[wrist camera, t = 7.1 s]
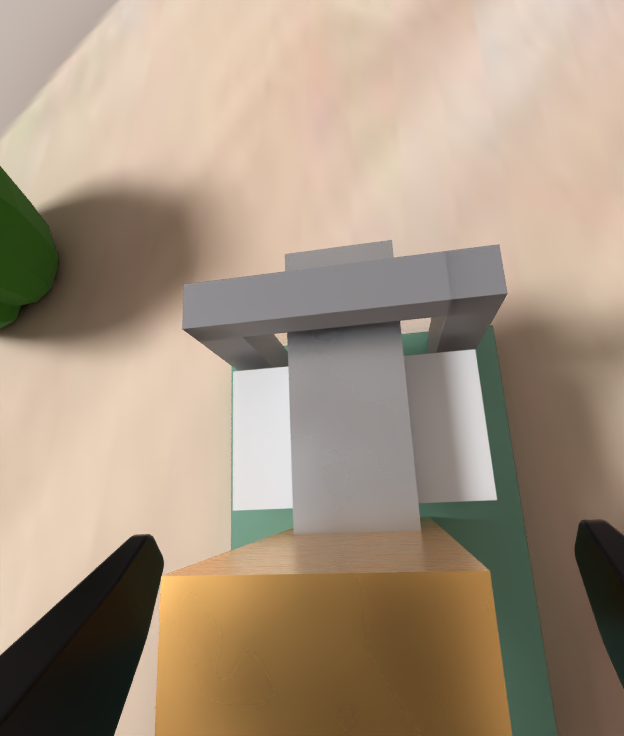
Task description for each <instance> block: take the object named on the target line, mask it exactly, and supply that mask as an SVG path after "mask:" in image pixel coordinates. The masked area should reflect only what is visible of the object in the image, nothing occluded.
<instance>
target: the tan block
mask: <svg viewBox="0 0 624 736" xmlns="http://www.w3.org/2000/svg"><path fill="white" fill-rule="evenodd" d="M388 258H394V257H393V247H392V240H388V241H381V242H373V243H366V244H358V245H351V246H343V247H336V248H328V249H321V250H313V251H306V252H298V253H290V254H285V271H293V270H301V269H309V268H317V267H325V266H333V265H341V264H348V263H356V262H364V261H372V260H380V259H388ZM287 338H288V371H289V403H290V435H291V467H292V499H293V528H291V529H289V530H286V531H283V532H280V533H278V534H275V535H272V536H269V537H267V538H264V539H261V540H259V541H256V542H253V543H250V544H248V545H245V546H242V547H239V548H237V549H234V550H231V551H229V552H226V553H223V554H220V555H218V556H215V557H212V558H209V559H207V560H204V561H201V562H199V563H196V564H193V565H190V566H188V567H185V568H182V569H179V570H177V571H174V572H171V573H168V574H166V575H163V576H161V594H160V619H159V643H158V668H157V693H156V717H155V736H512V729H511V722H510V715H509V707H508V700H507V693H506V685H505V678H504V671H503V663H502V656H501V649H500V641H499V634H498V626H497V619H496V612H495V604H494V597H493V590H492V582H491V575H490V570H488V569H487V568H486V567H485V566H484V565H483V564H482V563H481V562H479V561H478V560H477V559H476V558H475V557H474V556H473V555H472V554H470V553H469V552H468V551H467V550H466V549H465V548H464V547H462V546H461V545H460V544H459V543H458V542H457V541H456V540H455V539H453V538H452V537H451V536H450V535H449V534H448V533H447V532H446V531H444V530H443V529H442V528H441V527H440V526H439V525H438V524H436V523H435V522H434V521H433V520H432V519H431V518H430V517H420V514H419V504H418V494H417V484H416V474H415V464H414V454H413V445H412V435H411V425H410V415H409V405H408V395H407V385H406V375H405V366H404V356H403V346H402V336H401V326H400V321H391V322H381V323H372V324H362V325H353V326H343V327H334V328H324V329H314V330H305V331H295V332H287Z"/></svg>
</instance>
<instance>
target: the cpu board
mask: <svg viewBox="0 0 624 736" xmlns="http://www.w3.org/2000/svg"><path fill="white" fill-rule="evenodd" d="M506 295H507V287H506V281H505V275H504V270H503V264H502V258H501V252H500V246H499V245H491V246H483V247H475V248H467V249H459V250H451V251H443V252H435V253H427V254H420V255H412V256H404V257H396V258H388V259H380V260H372V261H364V262H356V263H348V264H341V265H333V266H325V267H317V268H309V269H301V270H293V271H285V272H277V273H269V274H262V275H254V276H246V277H238V278H230V279H222V280H214V281H206V282H198V283H190V284H184V295H183V324H182V329H183V330H184V331H186V332H187V333H188V334H190V335H191V336H192V337H194V338H195V339H196V340H198V341H199V342H201V343H202V344H203V345H205V346H206V347H207V348H209V349H210V350H211V351H213V352H214V353H215V354H217V355H218V356H219V357H221V358H222V359H223V360H225V361H226V362H227V363H229V364H230V365H231V366H232V443H231V550H234V549H237V548H239V547H242V546H245V545H248V544H250V543H253V542H256V541H259V540H261V539H264V538H267V537H269V536H272V535H275V534H278V533H280V532H283V531H286V530H289V529H291V528H293V499H292V467H291V435H290V403H289V371H288V346H283V345H282V344H281V343H280V342H279V340H278V339H277V338H276V337H275V335H274V334H276V333H286V332H295V331H305V330H314V329H324V328H334V327H343V326H353V325H362V324H372V323H381V322H391V321H401V320H410V319H420V318H429V317H432V318H431V323H430V328H429V332H420V333H410V334H401V336H402V346H403V356H404V366H405V375H406V385H407V395H408V405H409V415H410V425H411V435H412V445H413V454H414V464H415V474H416V484H417V494H418V504H419V514H420V517H430V518H431V519H432V520H433V521H434V522H435V523H436V524H438V525H439V526H440V527H441V528H442V529H443V530H444V531H446V532H447V533H448V534H449V535H450V536H451V537H452V538H453V539H455V540H456V541H457V542H458V543H459V544H460V545H461V546H462V547H464V548H465V549H466V550H467V551H468V552H469V553H470V554H472V555H473V556H474V557H475V558H476V559H477V560H478V561H479V562H481V563H482V564H483V565H484V566H485V567H486V568H487V569H488V570H490V575H491V582H492V590H493V597H494V604H495V612H496V619H497V626H498V634H499V641H500V649H501V656H502V663H503V671H504V678H505V685H506V693H507V700H508V707H509V715H510V722H511V729H512V736H558V734H557V728H556V722H555V716H554V709H553V703H552V697H551V690H550V684H549V678H548V671H547V665H546V659H545V652H544V646H543V640H542V633H541V627H540V621H539V614H538V608H537V602H536V596H535V589H534V583H533V577H532V570H531V564H530V558H529V551H528V545H527V539H526V532H525V526H524V520H523V513H522V507H521V501H520V494H519V488H518V482H517V476H516V469H515V463H514V457H513V450H512V444H511V438H510V431H509V425H508V419H507V412H506V406H505V400H504V393H503V387H502V381H501V375H500V368H499V362H498V356H497V349H496V343H495V337H494V330H493V325H491V326H490V324H491V322H492V320H493V318H494V317H495V315H496V313H497V311H498V309H499V308H500V306H501V304H502V302H503V301H504V299H505V297H506Z"/></svg>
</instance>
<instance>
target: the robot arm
mask: <svg viewBox="0 0 624 736" xmlns="http://www.w3.org/2000/svg"><path fill="white" fill-rule="evenodd" d="M575 557H576V561H577V564H578V567H579V570H580V573H581V576H582V579H583V583H584V586H585V589H586V592H587V595H588V598H589V601H590V604H591V607H592V610H593V613H594V616H595V619H596V622H597V625H598V628H599V631H600V634H601V637H602V640H603V642H604V645H605V647H606V650H607V652H608V654H609V657H610V659H611V661H612V663H613V666H614V668H615V670H616V672H617V675H618V677H619V679H620V681H621V684H622V686H623V688H624V535H623V534H622V533H620V532H619V531H618V530H617V529H615V528H614V527H613V526H612V525H610V524H609V523H608V522H606V521H604V520H600V519H597V520H582V521H581V522H580V523H579V526H578V532H577V537H576V543H575ZM163 568H164V560H163V556H162V554H161V552H160V550H159V548H158V546H157V544H156V541H155V539H154V538H153V536H151V535H150V534H139V535H133V536H132V537H130V538H129V539H128V540H127V541H126V542H125V543H123V544H122V545H121V546H120V547H119V548H118V549H117V550H116V551H115V552H114V553H112V554H111V555H110V556H109V557H108V558H107V559H106V560H105V561H104V562H102V563H101V564H100V565H99V566H98V567H97V568H96V569H95V570H94V571H93V572H91V573H90V574H89V575H88V576H87V577H86V578H85V579H84V580H83V581H82V582H80V583H79V584H78V585H77V586H76V587H75V588H74V589H73V590H72V591H71V592H69V593H68V594H67V595H66V596H65V597H64V598H63V599H62V600H61V601H60V602H58V603H57V604H56V605H55V606H54V607H53V608H52V609H51V610H50V611H48V612H47V613H46V614H45V615H44V616H43V617H42V618H41V619H40V620H39V621H37V622H36V623H35V624H34V625H33V626H32V627H31V628H30V629H29V630H28V631H26V632H25V633H24V634H23V635H22V636H21V637H20V638H19V639H18V640H17V641H15V642H14V643H13V644H12V645H11V646H10V647H9V648H8V649H7V650H6V651H4V652H3V653H2V654H1V655H0V736H114V734H115V731H116V728H117V725H118V722H119V719H120V716H121V713H122V710H123V707H124V704H125V701H126V698H127V696H128V693H129V690H130V687H131V684H132V681H133V678H134V675H135V672H136V669H137V666H138V663H139V660H140V657H141V654H142V651H143V648H144V645H145V642H146V639H147V635H148V631H149V628H150V624H151V619H152V615H153V611H154V606H155V602H156V598H157V594H158V589H159V585H160V581H161V576H162V572H163Z"/></svg>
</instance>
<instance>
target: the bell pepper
mask: <svg viewBox="0 0 624 736" xmlns="http://www.w3.org/2000/svg"><path fill="white" fill-rule="evenodd" d="M58 265H59V261H58V255H57V251H56V248H55V245H54V242H53V239H52V236H51V233H50V230H49V226H48V225H47V224H46V222H45V221H44V220H43V218H42V217H41V216H40V214H39V213H38V212H37V210H36V209H35V208H34V206H33V205H32V204H31V202H30V201H29V200H28V199H27V197H26V196H25V195H24V194H23V193H22V191H21V190H20V189H19V188H18V187H17V185H16V184H15V183H14V182H13V181H12V179H11V178H10V177H9V176H8V175H7V173H6V172H5V171H4V170H3V169H2V168H1V166H0V329H1V328H3V327H5V326H6V325H8V324H10V323H12V322H13V321H15V320H16V318H17V316H18V313H19V310H20V307H21V306H22V305H26V304H30V303H34V302H38V301H39V300H40V299H41V298H42V297H43V296H44V295H45V294H46V293H47V292H49V291H50V290H51V288H52V285H53V281H54V278H55V275H56V271H57V268H58Z"/></svg>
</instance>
